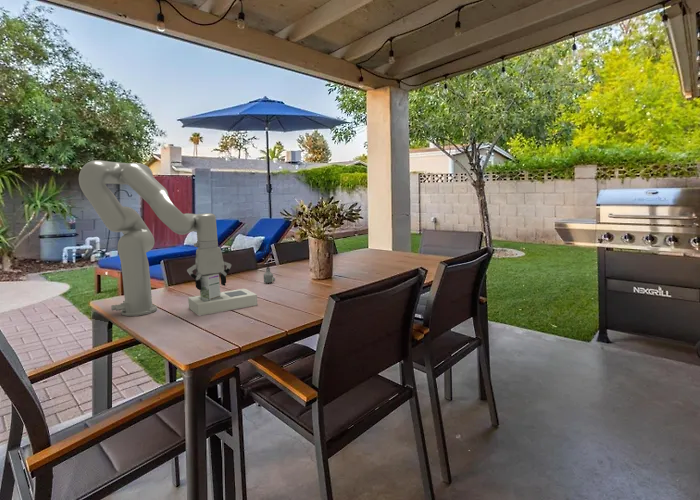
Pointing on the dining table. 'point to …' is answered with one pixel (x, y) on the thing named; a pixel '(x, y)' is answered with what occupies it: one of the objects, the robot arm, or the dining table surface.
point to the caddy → (223, 302)
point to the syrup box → (210, 287)
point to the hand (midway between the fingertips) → (211, 287)
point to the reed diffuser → (267, 269)
